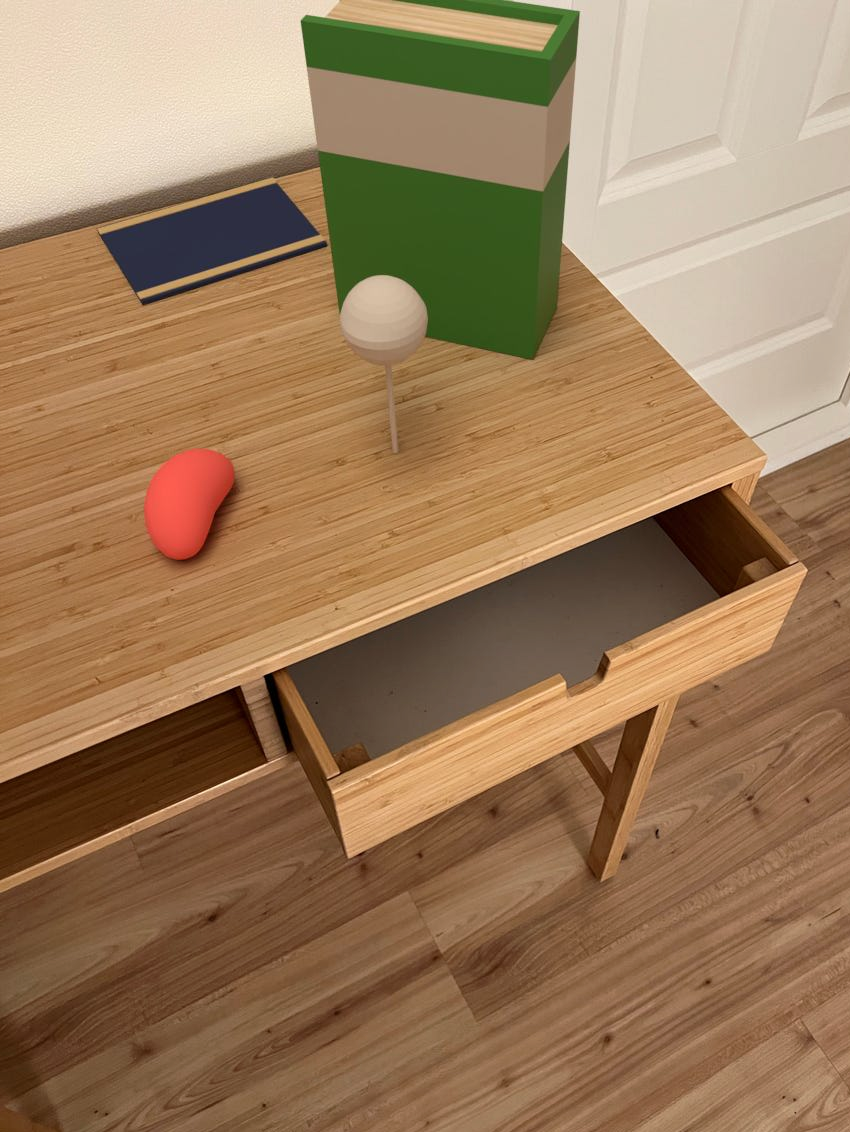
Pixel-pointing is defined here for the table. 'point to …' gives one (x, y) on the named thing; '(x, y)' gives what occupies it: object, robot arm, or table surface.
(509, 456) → the table surface
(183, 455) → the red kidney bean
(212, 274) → the cloth
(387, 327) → the lollipop
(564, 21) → the hardback book
